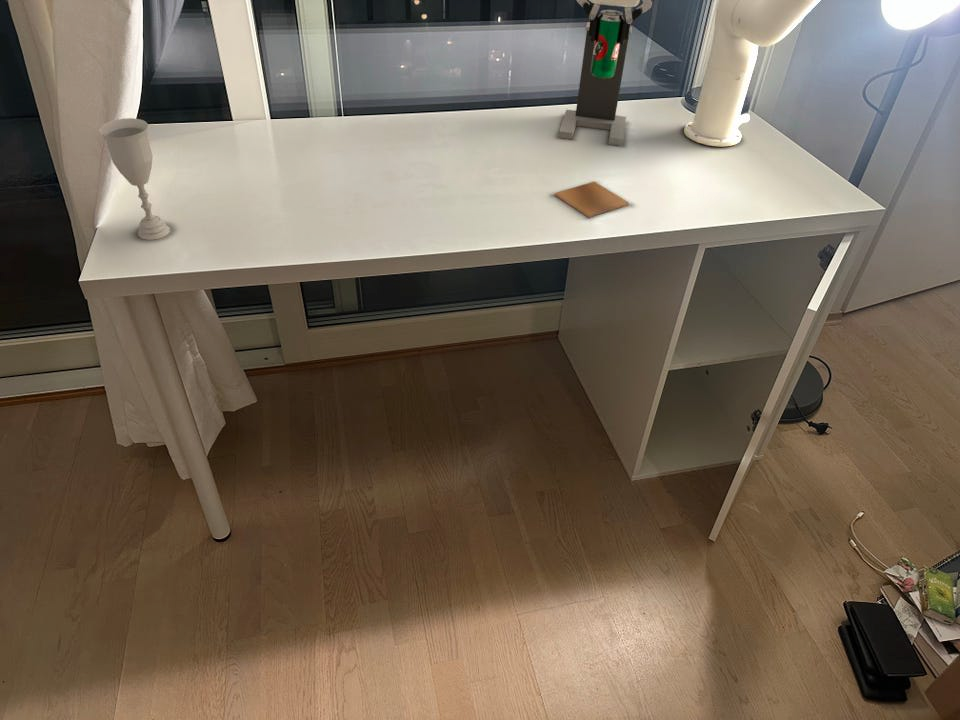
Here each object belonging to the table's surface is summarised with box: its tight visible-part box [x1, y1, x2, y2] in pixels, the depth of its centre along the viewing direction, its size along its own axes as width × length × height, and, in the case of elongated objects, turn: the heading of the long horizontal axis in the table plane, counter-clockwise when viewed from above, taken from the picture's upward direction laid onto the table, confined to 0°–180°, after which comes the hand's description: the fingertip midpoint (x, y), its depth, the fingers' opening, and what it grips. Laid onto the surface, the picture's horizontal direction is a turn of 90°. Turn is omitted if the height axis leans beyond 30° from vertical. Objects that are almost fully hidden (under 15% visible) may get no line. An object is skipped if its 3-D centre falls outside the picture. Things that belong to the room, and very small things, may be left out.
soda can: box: [591, 9, 625, 79], centre depth 141 cm, size 5×5×12 cm
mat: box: [554, 181, 630, 218], centre depth 134 cm, size 10×10×1 cm
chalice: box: [98, 117, 171, 241], centre depth 112 cm, size 7×7×18 cm
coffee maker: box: [558, 21, 633, 147], centre depth 153 cm, size 14×14×21 cm
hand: (607, 40), depth 141 cm, fingers closed on soda can, 5 cm apart
